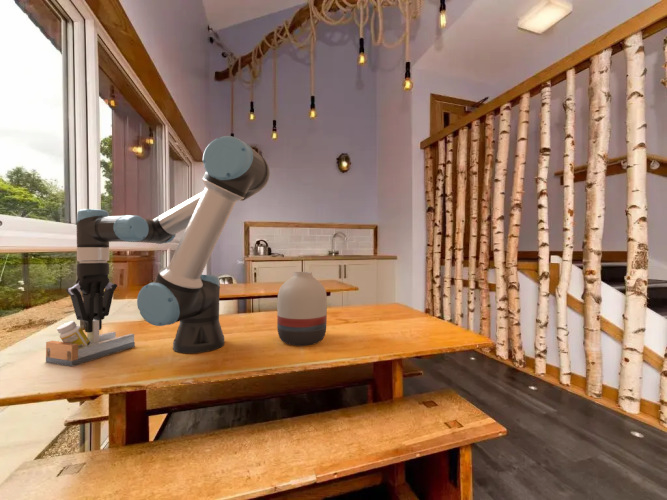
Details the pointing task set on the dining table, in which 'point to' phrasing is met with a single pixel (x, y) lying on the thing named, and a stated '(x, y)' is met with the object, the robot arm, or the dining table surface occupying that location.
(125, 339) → the rail
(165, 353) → the dining table surface
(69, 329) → the supplement bottle
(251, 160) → the robot arm
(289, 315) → the vase
